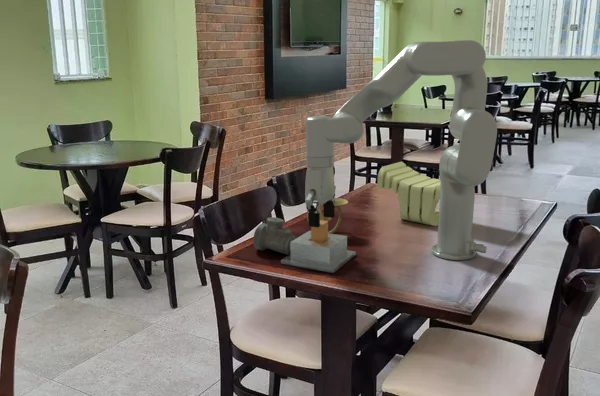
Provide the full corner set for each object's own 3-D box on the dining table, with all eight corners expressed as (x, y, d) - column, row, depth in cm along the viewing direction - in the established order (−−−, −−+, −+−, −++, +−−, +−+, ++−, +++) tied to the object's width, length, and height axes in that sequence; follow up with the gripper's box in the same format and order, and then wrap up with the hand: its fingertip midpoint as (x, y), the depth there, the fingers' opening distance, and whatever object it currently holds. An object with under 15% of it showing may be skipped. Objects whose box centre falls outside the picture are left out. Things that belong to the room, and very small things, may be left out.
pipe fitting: (249, 251, 171) (253, 217, 169) (264, 245, 178) (269, 213, 176) (284, 262, 165) (288, 228, 163) (298, 256, 172) (303, 223, 170)
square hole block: (355, 254, 169) (356, 235, 167) (333, 272, 155) (333, 251, 153) (306, 246, 176) (306, 227, 174) (280, 263, 162) (280, 243, 161)
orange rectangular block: (316, 252, 167) (316, 219, 165) (327, 254, 166) (328, 221, 163) (311, 256, 164) (311, 222, 162) (322, 258, 163) (322, 224, 160)
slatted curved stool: (376, 216, 208) (378, 167, 203) (399, 207, 219) (401, 161, 215) (454, 233, 189) (457, 179, 184) (475, 222, 200) (479, 171, 196)
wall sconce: (326, 242, 179) (327, 163, 173) (303, 236, 185) (303, 159, 179) (353, 232, 189) (354, 156, 183) (330, 227, 196) (331, 153, 189)
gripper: (321, 155, 168) (322, 212, 172) (293, 166, 153) (295, 229, 157) (345, 156, 164) (346, 215, 168) (319, 168, 149) (320, 232, 154)
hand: (321, 221), depth 163 cm, fingers open, 9 cm apart
